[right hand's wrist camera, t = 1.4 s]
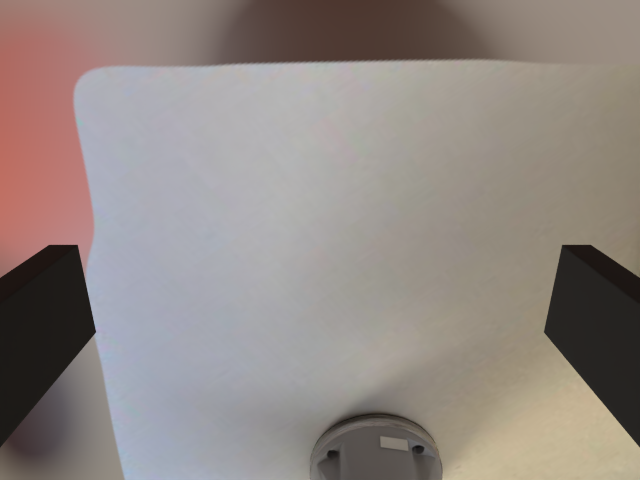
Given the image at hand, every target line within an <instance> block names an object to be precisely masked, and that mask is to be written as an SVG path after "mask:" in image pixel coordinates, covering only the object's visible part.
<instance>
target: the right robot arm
mask: <svg viewBox="0 0 640 480" xmlns="http://www.w3.org/2000/svg"><path fill="white" fill-rule="evenodd" d="M95 333H96V330H95V325H94V320H93V315H92V311H91V306H90V301H89V296H88V292H87V287H86V282H85V278H84V273H83V268H82V263H81V259H80V254H79V249H78V245H48V246H47V247H46V248H44V249H43V250H41V251H40V252H38V253H37V254H35V255H34V256H32V257H31V258H29V259H28V260H26V261H25V262H23V263H22V264H20V265H19V266H17V267H16V268H14V269H13V270H11V271H10V272H8V273H7V274H5V275H4V276H2V277H1V278H0V447H1V446H2V445H3V443H4V442H5V441H6V440H7V438H8V437H9V436H10V435H11V434H12V433H13V431H14V430H15V429H16V428H17V426H18V425H19V424H20V423H21V422H22V421H23V419H24V418H25V417H26V416H27V415H28V413H29V412H30V411H31V410H32V409H33V407H34V406H35V405H36V404H37V403H38V401H39V400H40V399H41V398H42V397H43V395H44V394H45V393H46V392H47V390H48V389H49V388H50V387H51V386H52V384H53V383H54V382H55V381H56V380H57V378H58V377H59V376H60V375H61V374H62V372H63V371H64V370H65V369H66V368H67V366H68V365H69V364H70V363H71V362H72V360H73V359H74V358H75V357H76V356H77V354H78V353H79V352H80V351H81V350H82V348H83V347H84V346H85V345H86V344H87V342H88V341H89V340H90V339H91V338H92V336H93V335H94V334H95ZM544 333H545V334H546V335H547V336H548V338H549V339H550V340H551V341H552V342H553V344H554V345H555V346H556V347H557V348H558V350H559V351H560V352H561V353H562V354H563V356H564V357H565V358H566V359H567V360H568V362H569V363H570V364H571V365H572V366H573V368H574V369H575V370H576V371H577V372H578V374H579V375H580V376H581V377H582V378H583V380H584V381H585V382H586V383H587V384H588V386H589V387H590V388H591V389H592V391H593V392H594V393H595V394H596V395H597V397H598V398H599V399H600V400H601V401H602V403H603V404H604V405H605V406H606V407H607V409H608V410H609V411H610V412H611V413H612V415H613V416H614V417H615V418H616V419H617V421H618V422H619V423H620V424H621V425H622V427H623V428H624V429H625V430H626V431H627V433H628V434H629V435H630V436H631V437H632V439H633V440H634V441H635V442H636V443H637V445H638V446H639V447H640V278H639V277H638V276H636V275H635V274H633V273H632V272H630V271H629V270H627V269H626V268H624V267H623V266H621V265H620V264H618V263H617V262H615V261H614V260H612V259H611V258H609V257H608V256H606V255H605V254H603V253H602V252H600V251H599V250H597V249H596V248H594V247H593V246H592V245H562V249H561V254H560V259H559V263H558V268H557V273H556V278H555V282H554V287H553V292H552V296H551V301H550V306H549V311H548V315H547V320H546V325H545V330H544ZM310 480H442V463H441V460H440V457H439V453H438V450H437V447H436V445H435V443H434V441H433V439H432V438H431V437H430V435H429V434H428V433H427V432H426V431H425V430H423V429H422V428H421V427H419V426H418V425H416V424H414V423H413V422H411V421H408V420H406V419H403V418H400V417H395V416H390V415H365V416H359V417H355V418H351V419H349V420H346V421H344V422H341V423H339V424H337V425H336V426H334V427H333V428H331V429H330V430H328V431H327V432H326V433H325V434H324V435H323V436H322V437H321V438H320V439H319V441H318V442H317V444H316V445H315V447H314V449H313V452H312V455H311V461H310Z"/></svg>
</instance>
